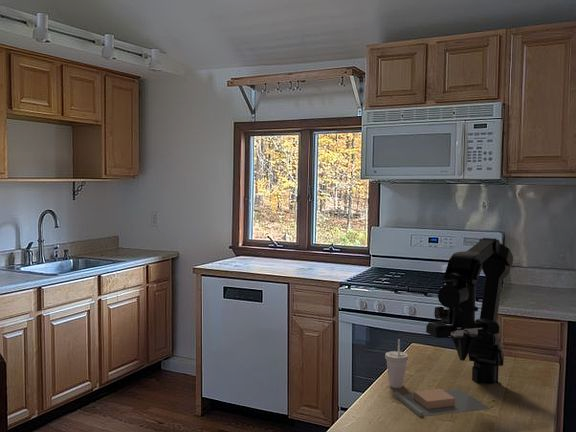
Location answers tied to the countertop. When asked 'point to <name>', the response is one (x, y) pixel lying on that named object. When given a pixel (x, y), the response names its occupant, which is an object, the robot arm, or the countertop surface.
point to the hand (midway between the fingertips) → (462, 360)
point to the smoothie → (396, 367)
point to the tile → (434, 398)
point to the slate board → (461, 405)
